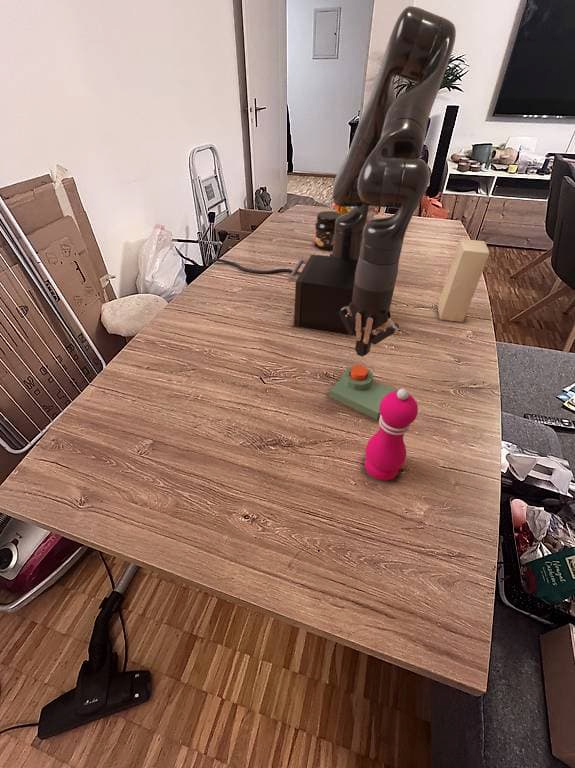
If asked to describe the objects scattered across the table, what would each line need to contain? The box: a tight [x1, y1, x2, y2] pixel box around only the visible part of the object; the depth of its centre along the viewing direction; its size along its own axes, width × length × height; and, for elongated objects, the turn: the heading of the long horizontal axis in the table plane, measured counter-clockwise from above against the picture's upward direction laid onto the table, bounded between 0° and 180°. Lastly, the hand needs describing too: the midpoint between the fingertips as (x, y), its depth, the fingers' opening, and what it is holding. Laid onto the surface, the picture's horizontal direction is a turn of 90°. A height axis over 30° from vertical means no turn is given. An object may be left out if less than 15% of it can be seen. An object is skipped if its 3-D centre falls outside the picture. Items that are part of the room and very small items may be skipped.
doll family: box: [331, 203, 380, 225], centre depth 161 cm, size 21×10×13 cm, turn 65°
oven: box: [299, 254, 358, 336], centre depth 107 cm, size 14×18×14 cm
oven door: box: [287, 254, 318, 328], centre depth 109 cm, size 4×18×14 cm, turn 164°
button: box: [350, 364, 368, 381], centre depth 85 cm, size 4×4×2 cm
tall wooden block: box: [437, 238, 490, 323], centre depth 105 cm, size 8×7×21 cm
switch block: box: [328, 365, 397, 421], centre depth 84 cm, size 12×10×4 cm
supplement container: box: [313, 210, 341, 251], centre depth 146 cm, size 10×10×12 cm
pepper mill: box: [364, 388, 419, 481], centre depth 65 cm, size 7×7×20 cm
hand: (361, 353), depth 81 cm, fingers closed
